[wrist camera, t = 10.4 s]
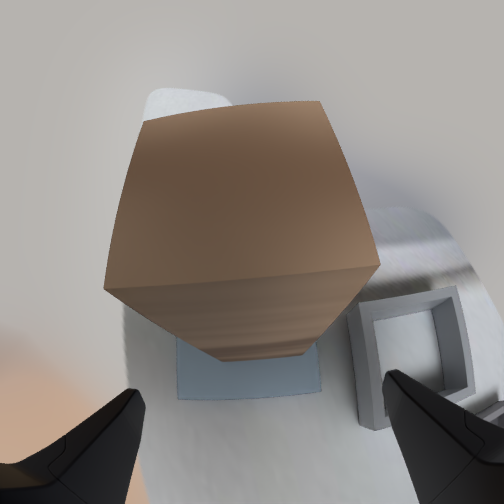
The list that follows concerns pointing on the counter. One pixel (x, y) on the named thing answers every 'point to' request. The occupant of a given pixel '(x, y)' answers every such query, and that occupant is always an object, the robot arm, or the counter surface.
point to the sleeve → (449, 339)
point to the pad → (244, 375)
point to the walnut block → (241, 229)
